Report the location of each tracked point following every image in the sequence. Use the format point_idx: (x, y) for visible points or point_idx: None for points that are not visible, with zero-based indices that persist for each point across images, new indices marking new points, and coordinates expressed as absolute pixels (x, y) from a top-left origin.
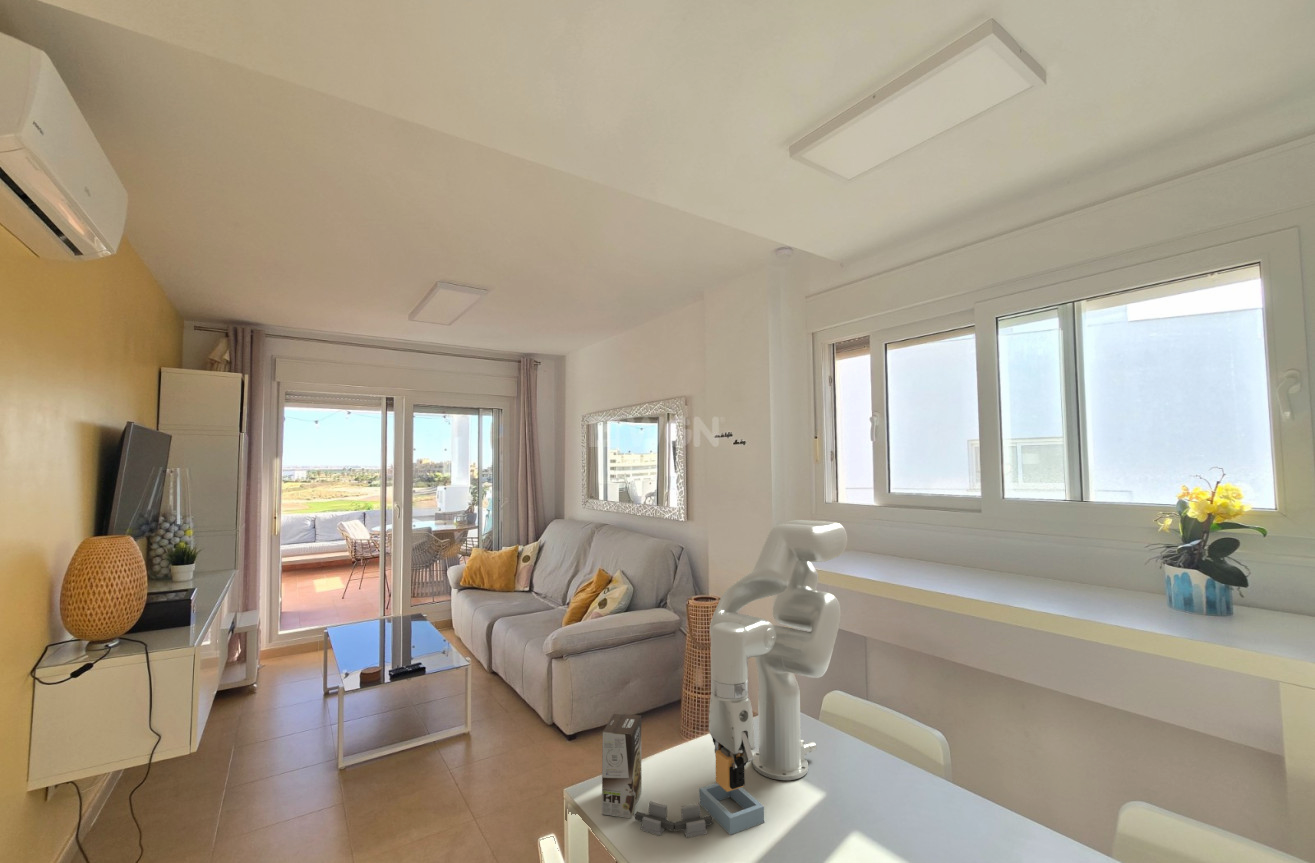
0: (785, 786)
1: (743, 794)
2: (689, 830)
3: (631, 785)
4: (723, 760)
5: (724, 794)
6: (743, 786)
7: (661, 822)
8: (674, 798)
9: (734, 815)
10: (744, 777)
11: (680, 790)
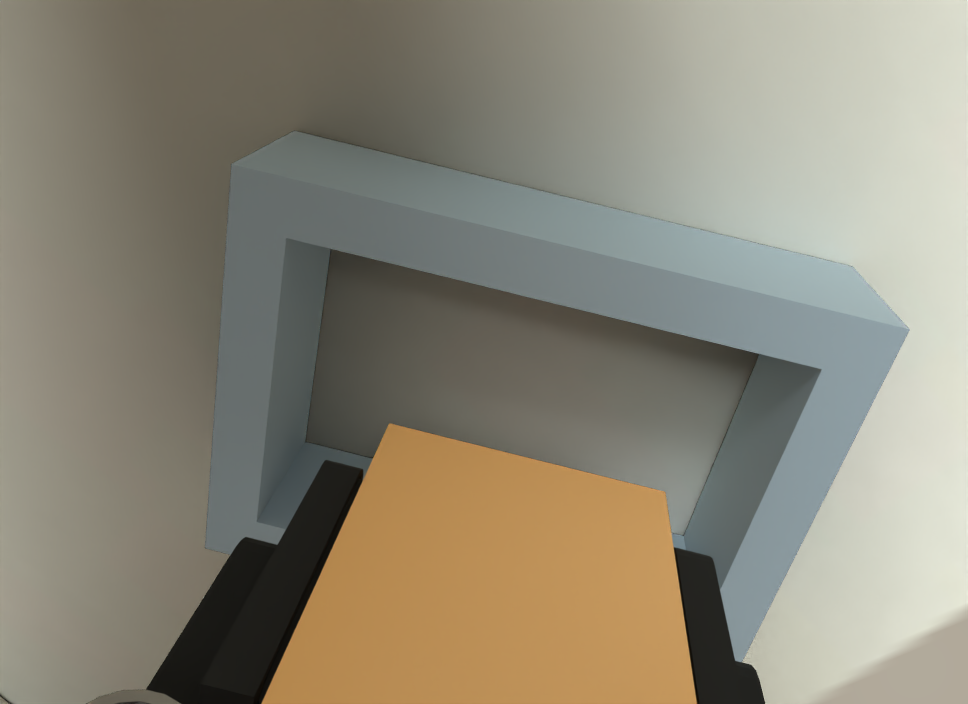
0: None
1: (560, 299)
2: None
3: None
4: None
5: (315, 275)
6: (665, 497)
7: None
8: (99, 541)
9: (737, 632)
10: (727, 626)
11: (23, 443)
